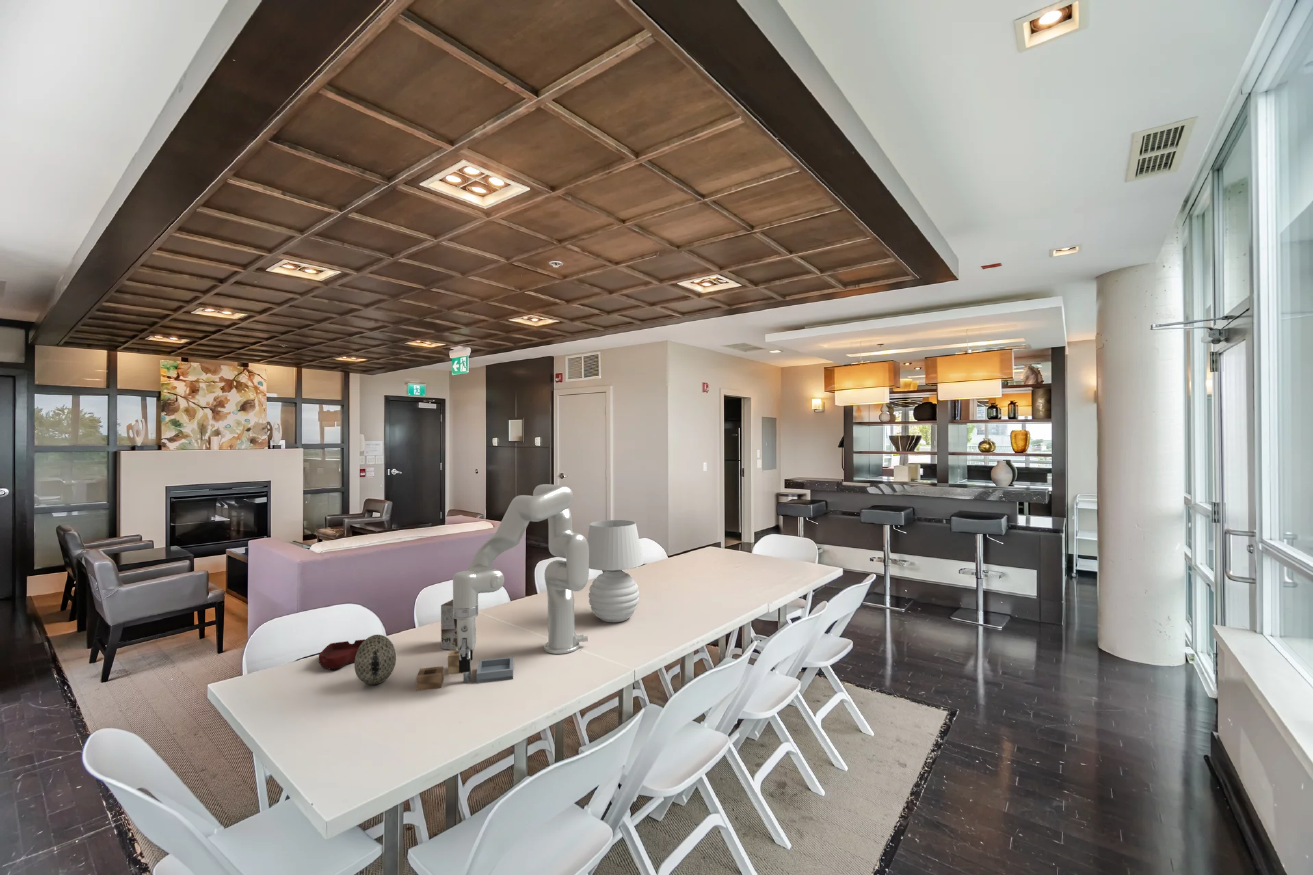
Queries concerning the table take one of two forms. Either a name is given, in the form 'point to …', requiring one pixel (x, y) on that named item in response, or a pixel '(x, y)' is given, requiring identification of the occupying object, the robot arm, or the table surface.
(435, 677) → the tan wooden square frame
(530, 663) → the table surface
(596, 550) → the table lamp
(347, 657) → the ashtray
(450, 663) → the oak block
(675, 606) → the table surface
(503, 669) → the tray
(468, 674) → the cylinder
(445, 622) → the coffee box
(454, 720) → the table surface
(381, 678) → the decorative egg
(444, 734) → the table surface
